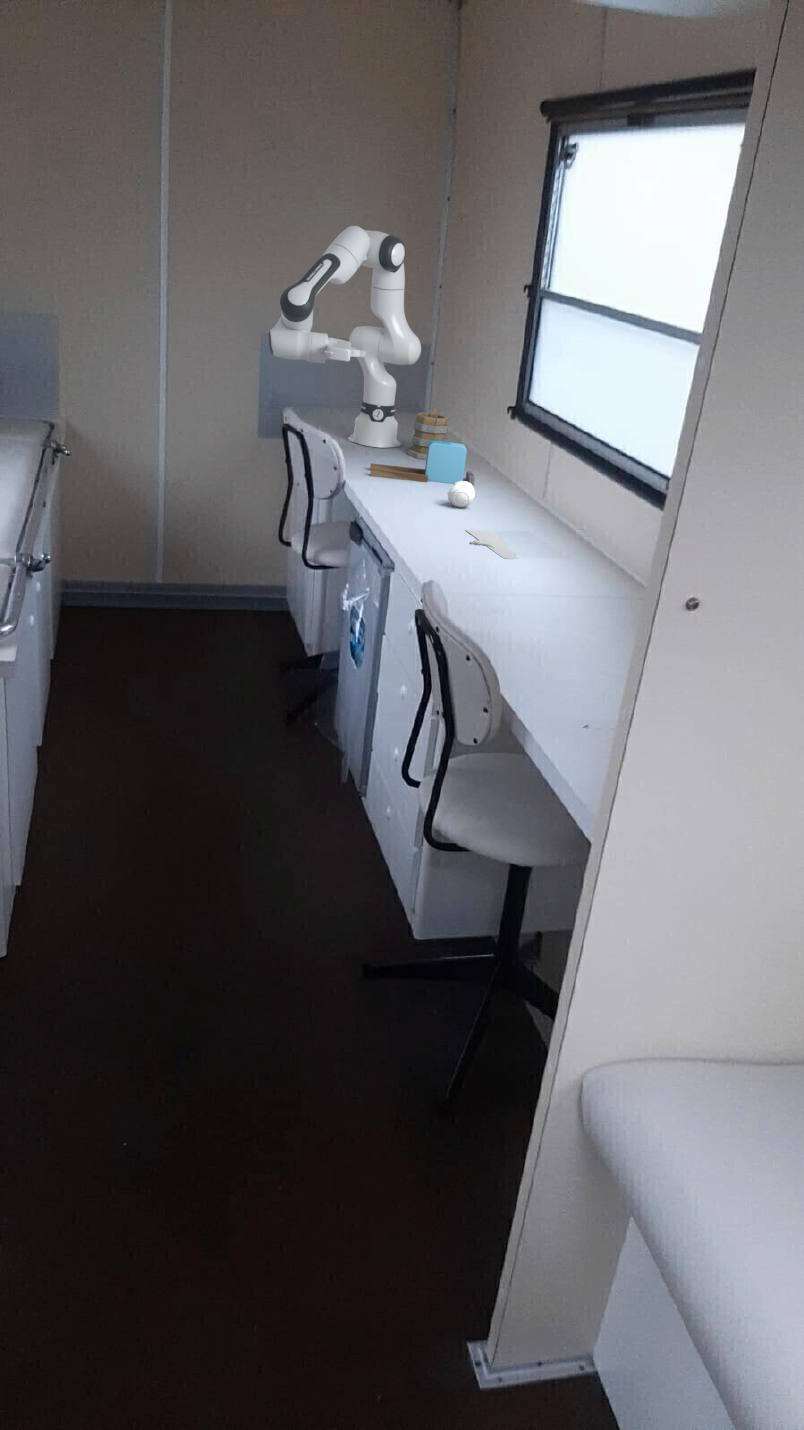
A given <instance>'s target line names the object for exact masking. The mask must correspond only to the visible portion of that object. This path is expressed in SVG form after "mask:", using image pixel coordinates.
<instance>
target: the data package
mask: <svg viewBox="0 0 804 1430" xmlns="http://www.w3.org/2000/svg"><path fill="white" fill-rule="evenodd" d="M467 454H468V451H467V448H466V445H465V444H463V443H458V442H457V443H456V442H450V441H449V442H448V441H446V442H441V441H431V442H430V443H429V444H428V452H427V459H426V460H425V468H424V469H425V475H428V481H427V482H433V483H443V484H450V483H451V485H455V482H458V481H464V473H465V467H466V462H467V461H466V460H467Z"/></svg>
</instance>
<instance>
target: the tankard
mask: <svg viewBox="0 0 804 1430" xmlns="http://www.w3.org/2000/svg"><path fill="white" fill-rule="evenodd" d="M448 419H449V417H448V416H445V415H443V414H439V413H438V407H433V408H432V411H431V412H418V413H417V414H416V419H415V421H414V423H413V429H414V434H413V435H412V437H411V438H412V439H411V443H412V444H413V445H412V447H411V448H409V450H408V456H409V457H412V458H415V459H417V460H424V461H426V459H427V452H428V444H429V443H430V442H431V441H441V442H447V438H446V434H447V432H448V431H449V424H448Z"/></svg>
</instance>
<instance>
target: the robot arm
mask: <svg viewBox="0 0 804 1430" xmlns="http://www.w3.org/2000/svg"><path fill="white" fill-rule="evenodd" d="M406 253H407V251H406V247H405V244H404V241H403V240H402V239H401V238H400V237H398V236H396V235H394V234H388V233H386V232H382V231H378V230H367V229H365V230H364V229H363V228H362V227H360V226H358V225H350V226H348V227H346V229H344V230H343V231H342V232H341V233H339V234H338V235H337V237H336V238H335V239H334V240H333V241H332V242H331V243H330V245H329V246H328V248H327V249H326V250H325V251H324V252H323V254H322V256H320V258H319V259H318V260H317V261H316V262H315V263H314V264H313V265H312V266H311V268H310V269H308V271H307V272H306V273H305V274H304V275H303V276H302V278H300V280H298V281H297V282H296V283H293V284H292V285H290V286H289V287H287V288H286V289H284V290H283V292H282V294H281V295H280V299H279V305H280V311H281V313H280V314H281V316H280V318H279V320H278V321H277V322H276V324H275V325H274V326H273V328H271V329H269V331H268V348H269V352H270V353H271V355H273V356H274V357H277V358H279V359H284V360H291V361H299V360H301V361H306V362H308V363H315V364H326V361H331V360H333V361H341V362H350V360H351V358H352V357H353V358H356V360H357V361H358V362H359V364H360V366H361V369H362V374H363V379H364V380H363V399H362V401H361V404H360V413H359V415H357V417H355V420H354V421H353V427H354V428H353V433H352V434H351V435H349V436H348V438H347V441H349V442H353V443H356V444H359V445H363V446H367V447H372V448H373V447H374V448H383V449H384V448H385V449H386V448H387V449H388V448H395V447H401V446H402V443H401V442H400V441H399V440H398V439H397V436H398V435H397V434H398V425H399V424H398V421H397V419H396V418H395V412H396V405H395V400H396V392H397V381H396V380H395V378H394V377H393V376H392V375H391V374H390V373H388V371H387V369H386V368H385V365H384V363H387V364H393V365H398V366H408V365H411V366H412V365H414V364H415V363H417V361H418V360H419V358H420V357H421V354H422V353H421V352H422V345H421V344H422V343H421V340H420V339H419V338H418V336H417V335H416V334H415V333H414V332H413V331H412V329H411V327H410V325H409V324H408V321H407V318H406V314H405V286H406V284H405V283H406V281H405V280H406V275H405V274H406V271H405V265H404V264H405V263H404V261H405V259H406ZM361 266H363V267H366V268H370V269H373V270H372V276H371V291H370V309H371V312H372V313H373V314H374V316H376V318H378V319H379V320H380V321H381V322H382V324H383V327H384V328H383V327H378V326H373V325H372V326H371V325H362V326H356V327H355V328H354V329H353V330H352V331H351V333H350V335H349V339H348V340H343V339H339V338H334V337H329V335H328V333H322V332H316V331H315V332H313V331H311V330H312V327H313V322H314V320H313V318H314V316H313V315H314V305H315V300H316V297H317V295H319V293H320V291H321V290H323V288H324V287H325V286H326V284H328V282H330V283H332V284H334V285H344V284H345V283H346V282H348V281H349V280H350V279H351V278H352V277H353V276H354V275H355V273H356V272H357V270H358V269H359V268H360V267H361Z"/></svg>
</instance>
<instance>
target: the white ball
mask: <svg viewBox="0 0 804 1430" xmlns="http://www.w3.org/2000/svg"><path fill="white" fill-rule="evenodd" d="M475 495H476V492H475V487H474V486H472V484H471V483H468V482H467V481H466V480H463V481H458V482H455V484H453V486H452V487H451V489H449V491H448V492H447V499H448V501H449V502H450V504H452V505H453V506H454V507H456V508H466V507H468V506H470V505H471V504H472V503H473V501H474V500H475V498H476V497H475Z"/></svg>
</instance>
